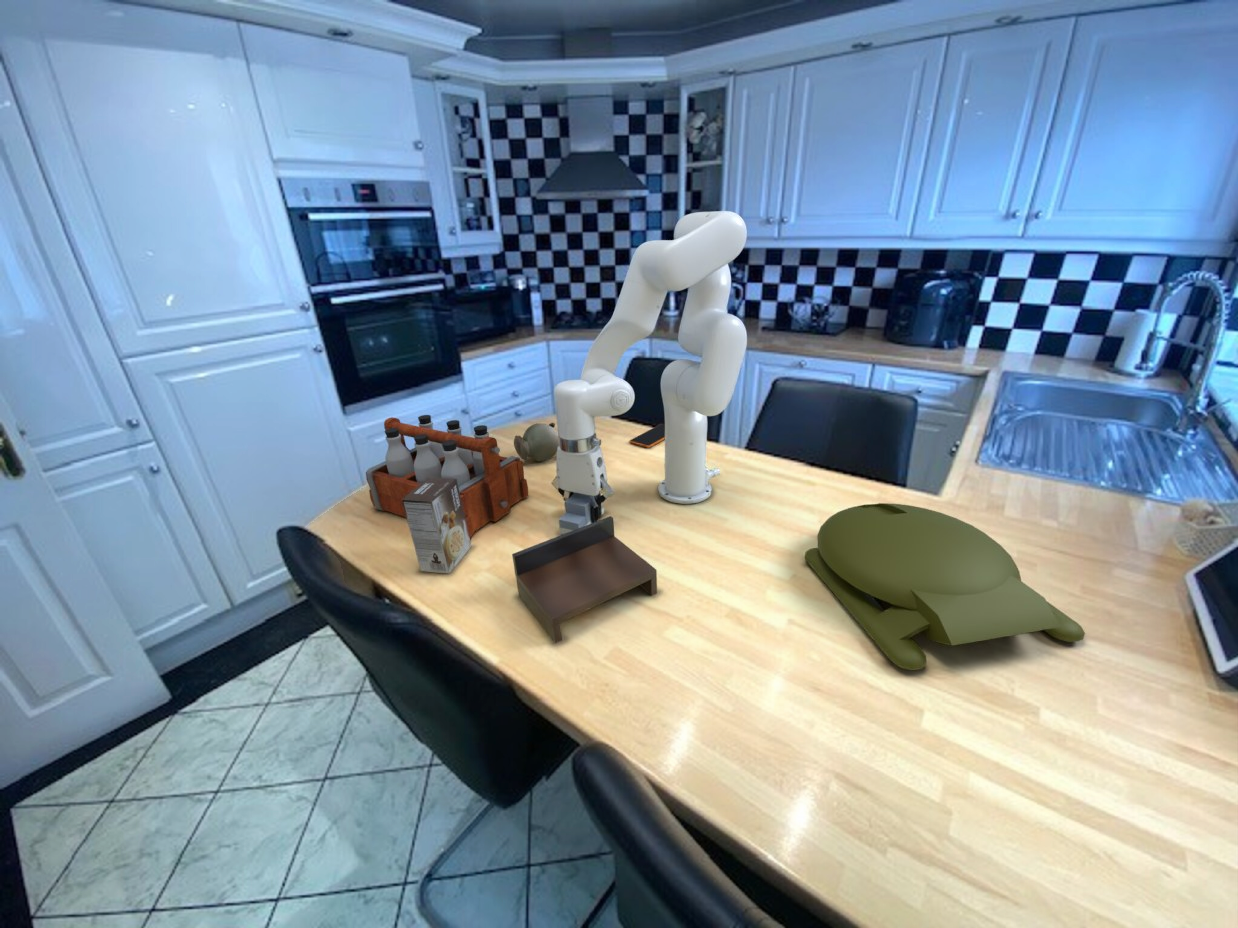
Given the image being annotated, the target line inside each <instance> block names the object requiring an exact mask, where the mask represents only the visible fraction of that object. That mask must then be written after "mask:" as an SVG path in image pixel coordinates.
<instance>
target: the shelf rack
mask: <svg viewBox="0 0 1238 928" xmlns="http://www.w3.org/2000/svg"><path fill="white" fill-rule="evenodd" d="M614 520H615V519H614V517H613V516H611V515H610V516H607V517H604V518H602V519H599V520H598V521H596V522H594V523H591V524H589V525H586V526H583V527H581V528H578V529H576V530H573V531H571V532H568V533H565V534H560V535H558V536H555V537H552V538H550V539H547V540H545V541H542V542H539V543H537V544H535V545H532V546H529V547H526V548H524V549H522V550H519V551H516V552H514V553H511V555H512V556H511V557H512V562H513V563H512V564H513V568H514V569H513V570H514V575H515V581H516V588H517V592H518V597H519V598H520V600H521V601H522V602H523V604H525V606H526V607H527V608H528V610H529V611H530V613H531V614H532V615H533V617H534V618H535V619H536V620H537V621H538V623H539V624H540V626H542V628H543V629H544V631H545V632H546V633H547V634H548V636H549V637H550V639H551V640H552V641H553V642H554V643H555V644H557V643H560V642H562V641H563V637H562V636H563V635H562V627H561V623H564V622H566V621H568V620H571V618H574V617H576V616H578V615H580V614H582V613H584V612H587V611H588V610H590V609H593V608H595V607H597V606H599V605H601V604H603V603H605V602H607V601H609V600H611V599H614V598H616V597H617V596H620V595H621V594H623V593H626V592H628V591H630V590H631V589H634V588H636V587H638V586H640V587H641V588H642V589H643V590H645V592H646V593H648V594H649V595H650V596H653V595H656V594H657V593H658V576H657V572H658V571H657V568H655V567H654V566H653V565H651V564H650V562H648V561H646V559H644V558H642V556H640V555H639V554H638V553H636V552H635V551H634V550H632V549H631V548H630V547H629V546H628V545H626V544H625V543H624V542H623V541H621V540H620V539H619V538H617V537H616V536H615V522H614Z"/></svg>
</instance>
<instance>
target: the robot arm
mask: <svg viewBox="0 0 1238 928" xmlns="http://www.w3.org/2000/svg"><path fill="white" fill-rule="evenodd" d="M747 237H748V231H747V226H746V222H745V221H744V219H743V218H742V217H741V216H740V214H737V213H736V212H735V211H734V212H733V211H730V210H719V211H717V210H716V211H715V210H714V211H699V212H692V213H689V214H685V215H684V216H682V217H681V218H680V219H679V220H678V221H677V223H676V224H675V227H674V230H673V239H672V240H671V239H669V240H668V239H667V240H666V239H656V240H648V241H645V242H643V243H641V244H640V245H638V247H637V248H636V249H635V251H634V253H633V254H632V258H631V261H630V263H629V266H628V268H627V272H626V275H625V278H624V280H623V284H622V287H621V290H620V294H619V296H618V298H617V302H616V304H615V307H614V311H613V314H612V316H611V318H610V319H609V321H608V322H607V323H606V324H605V326H603V328H602V329H601V331H600V333H599V334H598V335H597V337H596V338H595V339H594V340H593V343H592V344H591V345H590V348H589V350H588V352H587V355H586V357H585V361H584V364H583V367H582V369H581V370H582V371H581V374H580V377H579V379H568V380H563V381H561V382H558V383H557V384H556V385H555V386H554V388H553V400H554V409H555V418H556V426H557V427H556V428H557V434H558V437H559V447H558V449H557V453H556V457H555V458H556V459H555V461H556V462H555V463H556V464H555V466H556V467H555V468H556V469H555V471H556V475H555V478H553V480H552V481H551V483H550V484H551V486H552V487H553V488H555V489H556V490H557V492H558V494H559V495H561V497H562V500H563V501H564V502H565V501H566V500H567V499H568V498H570V497H571V496H572V495H573V494H574V493H581V494H586V495H589V498H590V501H591V503H592V507H591V508H590V511H591V522H592V523H594V522H596V521H599V520H601V518H602V516H603V514H602V511H601V504H603V503H604V502H605V501H607V500H608V499H610V498H611V497H612V496H613V495H614V494H615V492H614V490H613V489H612V487H611V486H610V484H609V483H608V475H607V474H608V473H607V468H606V462H605V458H604V454H603V451H602V449H601V445H602V439H600V438H598V437H597V433H596V423H595V422H596V420H595V418H596V417H616V416H621V415H623V414H625V413H627V412H628V411H629V410H630V409H631V408H632V407H633V405H634V403H635V400H636V399H635V398H636V397H635V396H636V395H635V391H634V388H633V386H631V384H630V383H629V382H628V381H626V380H624V379H622V378H621V377H619V376H617V375H615V373H616V370H617V367H618V365H619V362H620V361H621V359H622V357H623V355H624V354H625V353H626V351H628V349H629V348H630V347H632V346H633V345H635V344H636V343H638V342H639V341H642V340H643V339H646V338H648V337H649V336H650V335H651V334H652V333H653V332H654V331H655V327H656V325H657V321H658V319H659V316H660V313H661V310H662V308H663V305H664V302H665V300H666V297H667V294H668V291H670V292H681V291H683V290H686V289H687V295H686V300H685V302H684V303H685V304H684V308H683V311H682V315H681V318H680V319H681V320H680V323H679V327H678V334H677V340H678V344H679V346H680V347H681V348H682V349H683V351H685V352H686V353H689V354H692V355H693V356H696V357H699V358H701V360H700V362H697V361H694V360H691V359H687V358H686V359H685V358H680V359H676V360H673V361H671V362H670V363H669V364H668V365H666V366H665V368H664V369H663V370H662V371H663V372H662V374H661V377H660V393H661V399H662V404H663V405H662V406H663V412H664V413H663V414H664V424H665V439H664V480H662V481H661V482H660V483H659V484H658V494H659V496H660V497H661V498H663V499H664V500H666V501H667V502H671V503H675V504H682V505H690V504H696V503H701V502H704V501H705V500H707V499H708V498H709V497H710V496H711V495H712V490H713V489H712V485H711V484H710V482H709V481H710V480H712V478H715V477H718V476H720V473H721V471H720V469H719V468H717V467H715V468H713V469H710V470H709V468H708V466H707V439H708V417H714V416H717V415H719V414H721V413H723V411H725V410H726V409H727V407H728V406H729V404H730V402H731V400H732V398H733V395H734V392H735V389H736V386H737V383H738V379H739V375H740V372H741V368H742V365H743V361H744V358H745V354H746V351H747V345H748V335H747V333H748V332H747V329H746V326H745V324H744V323H743V320H741V319H740V318H739V317H737V316H735V315H734V314H731V313H728V312H727V309H728V303H729V300H730V293H731V290H732V275H731V270H730V266H729V263H731V262H733V261H734V260H735V259H736V258H738V256H739V255H740V254H741V252H743V249H744V248H745V245H746V243H747ZM601 490H602V491H601ZM600 491H601V492H603V493H601V492H600ZM595 496H596V497H595Z"/></svg>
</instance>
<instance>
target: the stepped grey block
mask: <svg viewBox="0 0 1238 928" xmlns="http://www.w3.org/2000/svg"><path fill="white" fill-rule="evenodd" d="M600 492H602V491H601V490H600ZM595 497H596V496H595ZM591 507H592V503H591V501H590V498H589V495H586V494H581V493H574V494H573V495H572V496H571V497H570V498H568V499H567V500H566V501H564V511H565V513H563V515H561V516H560V517H559V518H558V530H559V534H560V535H563V534H565V533H568V532H571V531H573V530H576V529H578V528H581V527H583V526H586V525H589V524H591V523H592V522H591V511H590V508H591ZM601 511H602V515H604V513H605V507H604V506H603V503H601Z"/></svg>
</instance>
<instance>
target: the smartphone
mask: <svg viewBox="0 0 1238 928" xmlns="http://www.w3.org/2000/svg"><path fill="white" fill-rule="evenodd" d="M662 441H665V423H660V424H658V425H656V426H655V427H652V428H651V429H649V430H647V431H645V432H643V433H641V434H639V435H637V436H635V437H633V438H631V439H630V440H629V443H630V444H633V445H636V446H640V447H643V448H647V449H649V448H651V447H653V446H655V445H657V444H659V443H660V442H662Z"/></svg>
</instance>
